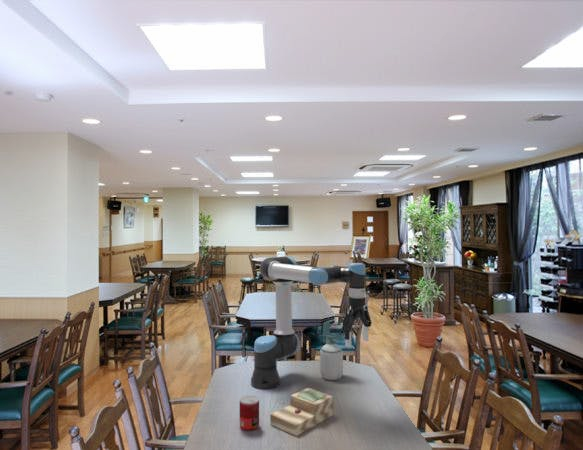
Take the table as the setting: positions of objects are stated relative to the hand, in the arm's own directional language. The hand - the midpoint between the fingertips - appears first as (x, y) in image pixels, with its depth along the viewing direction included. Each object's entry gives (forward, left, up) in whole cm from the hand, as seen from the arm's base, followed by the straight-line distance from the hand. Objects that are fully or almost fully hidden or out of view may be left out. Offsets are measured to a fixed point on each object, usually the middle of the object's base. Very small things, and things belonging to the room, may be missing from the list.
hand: (357, 343), depth 184 cm
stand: (-8, -29, -27) cm, 40 cm away
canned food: (-20, -48, -28) cm, 59 cm away
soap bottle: (-28, +18, -28) cm, 44 cm away
